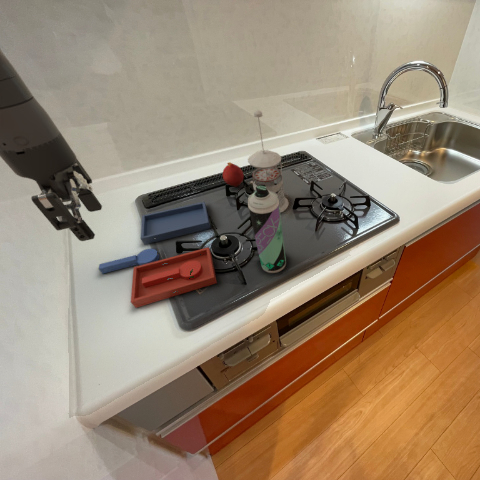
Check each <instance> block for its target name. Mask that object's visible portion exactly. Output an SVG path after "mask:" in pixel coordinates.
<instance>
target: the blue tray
mask: <svg viewBox="0 0 480 480" xmlns="http://www.w3.org/2000/svg"><path fill="white" fill-rule="evenodd" d="M211 228H212V227H211V223H210V217H209V213H208V208H207V205H206V201H201V202H196V203H192V204H187V205H183V206H179V207H175V208H169V209H164V210H161V211H160V210H159V211H156V212H155V211H154V212H152V213H147V214H142V215H141V228H140V240H141V242H142V244H143V245H144V246H145V245H149V244H153V243H156V242H161V241H165V240H169V239H172V238H173V239H174V238H177V237H181V236H185V235H189V234H193V233H197V232H200V231H201V232H202V231H205V230H209V229H211ZM154 238H156V239H154Z"/></svg>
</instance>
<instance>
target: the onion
mask: <svg viewBox="0 0 480 480" xmlns="http://www.w3.org/2000/svg"><path fill="white" fill-rule="evenodd" d="M226 164H227V165H226V166H225V167H224V168H223V170H222V179H223V181H224V183H226V184H227V185H229V186H231V187H234V188H236V187H239V186H240V185H241V184H242V183H243V181H244V178H245V177H244V176H245V175H244V171H243V169H241V167H240V166H238V165H237V164H235V163H233V162H231V161H228V162H227V163H226Z"/></svg>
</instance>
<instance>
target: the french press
mask: <svg viewBox="0 0 480 480" xmlns="http://www.w3.org/2000/svg"><path fill="white" fill-rule="evenodd" d="M253 117H254V118H257V120H258V121H257V122H258V127H259V133H260V141H261V142H260V143H261V148H262V150H257V151H255V152H254V153H251V154H250V155H249V156H248V158H247V163H248V164H249V165H250V166H251V167H253V168H255V170H254V171H253V172H252V178H251V181H252V187H253V193H254V192H255V191H256V187H257V186H258V185H264V186H266V189H267V190H269V191H272V192H274V193H275V194H276V195H277V197H278V200H279V207H280V214H281V213H283V212H284V211H286V210H287V208H288V206H289V204H290V203H289V199H288V198H287V197H285V191H284V190H285V189H284V183H283V182H284V180H283V179H284V178H283V176H282V173H283V172H282V171H283V166H282V165H283V163H282V156H281V155H280V154H279V153H278V152H276V151H272V150H268V149H264V143H263V142H264V141H263V136H262V129H261V121H260V118H262V117H263V112H262V110H260V109H256V110H254V111H253ZM279 164H280V169H279V168H278V167H277V166H278V165H279ZM275 181H276V184H275Z"/></svg>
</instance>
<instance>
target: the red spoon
mask: <svg viewBox="0 0 480 480" xmlns="http://www.w3.org/2000/svg"><path fill="white" fill-rule="evenodd" d="M192 269H193V272H192V273H191V275H190V271H191V270H192ZM201 273H202V266H201V264H200V263H199V262H198V261H188V262H186V263H184V264H183V265H182V266H181V267H180V268H176V269H172V270H169V271H165V272H162V273H158V274H155V275H151V276H148V277H144V278H142V284H143V286H144V287H145V288H147V287H151V286H154V285H157V284H161V283H164V282H168V281H171V280H174V279H178V278H181V277H182V278H183V279H185V280H192V279H195V278H197V277H198V276H199V275H200V274H201ZM190 276H194V278H190ZM168 278H173V279H169V280H167V279H168ZM189 278H190V279H189Z"/></svg>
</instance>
